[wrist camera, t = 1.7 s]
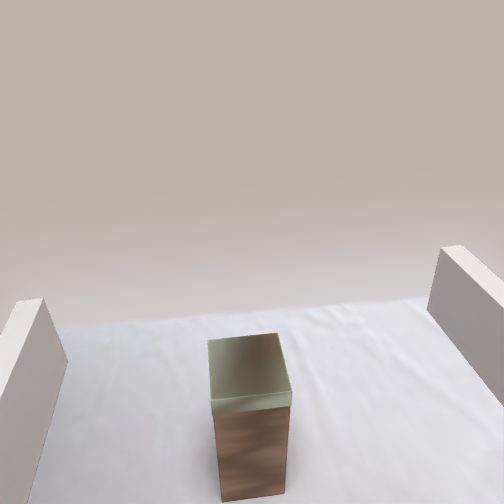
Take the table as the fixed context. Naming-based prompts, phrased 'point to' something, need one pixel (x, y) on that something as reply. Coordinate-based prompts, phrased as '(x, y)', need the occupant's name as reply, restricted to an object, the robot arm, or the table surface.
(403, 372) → the table surface
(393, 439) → the table surface
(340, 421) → the table surface
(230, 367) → the walnut block
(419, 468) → the table surface
